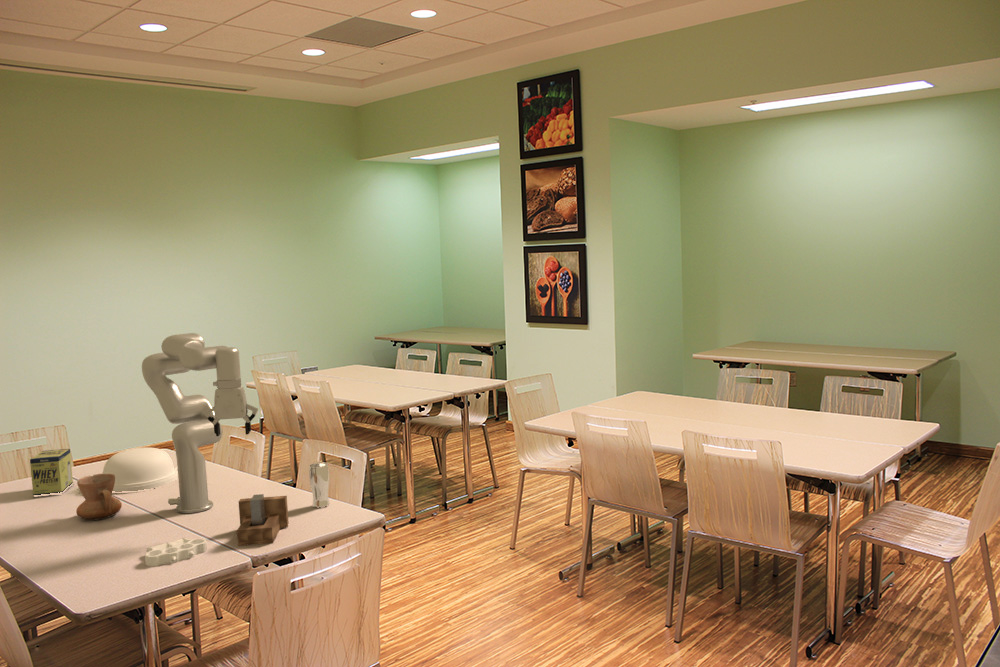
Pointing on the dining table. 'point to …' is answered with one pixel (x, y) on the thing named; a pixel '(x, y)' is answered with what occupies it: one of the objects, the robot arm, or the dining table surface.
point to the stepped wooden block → (273, 521)
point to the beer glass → (319, 483)
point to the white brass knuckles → (174, 551)
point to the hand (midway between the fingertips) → (233, 434)
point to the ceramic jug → (98, 497)
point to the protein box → (51, 471)
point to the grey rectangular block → (257, 510)
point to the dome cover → (141, 469)
